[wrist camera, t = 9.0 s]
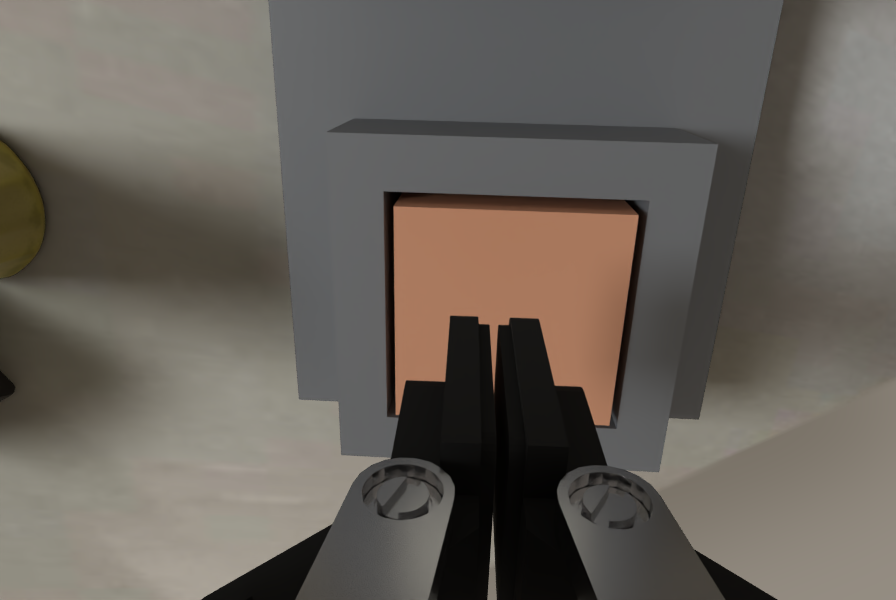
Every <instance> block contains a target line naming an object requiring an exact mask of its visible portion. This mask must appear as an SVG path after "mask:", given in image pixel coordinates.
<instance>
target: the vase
mask: <svg viewBox="0 0 896 600" xmlns="http://www.w3.org/2000/svg"><path fill="white" fill-rule="evenodd" d="M44 232H45V211H44V206H43V201H42V198H41V195H40V192H39V190H38V187H37V185H36V183H35V181H34V179H33V177H32V176H31V174H30V172H29V171H28V169H27V168H26V167H25V165H24V164H23V163H22V161H21V160H20V159H19V158H18V157H17V155H16V154H15V153H14V152H13V151H12V150H11V149H10V148H9V147H8V146H7V145H6V144H5V143H3V142H2V141H1V140H0V279H1V278H5V277H10V276H12V275H14V274H16V273H18V272H19V271H21V270H22V269H23V268H24V267H25V266H26V265H28V264H29V263H30V262H31V260H32V259H33V258H34V257H35V256H36V254H37V252H38V251H39V249H40V247H41V244H42V241H43V237H44Z"/></svg>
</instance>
